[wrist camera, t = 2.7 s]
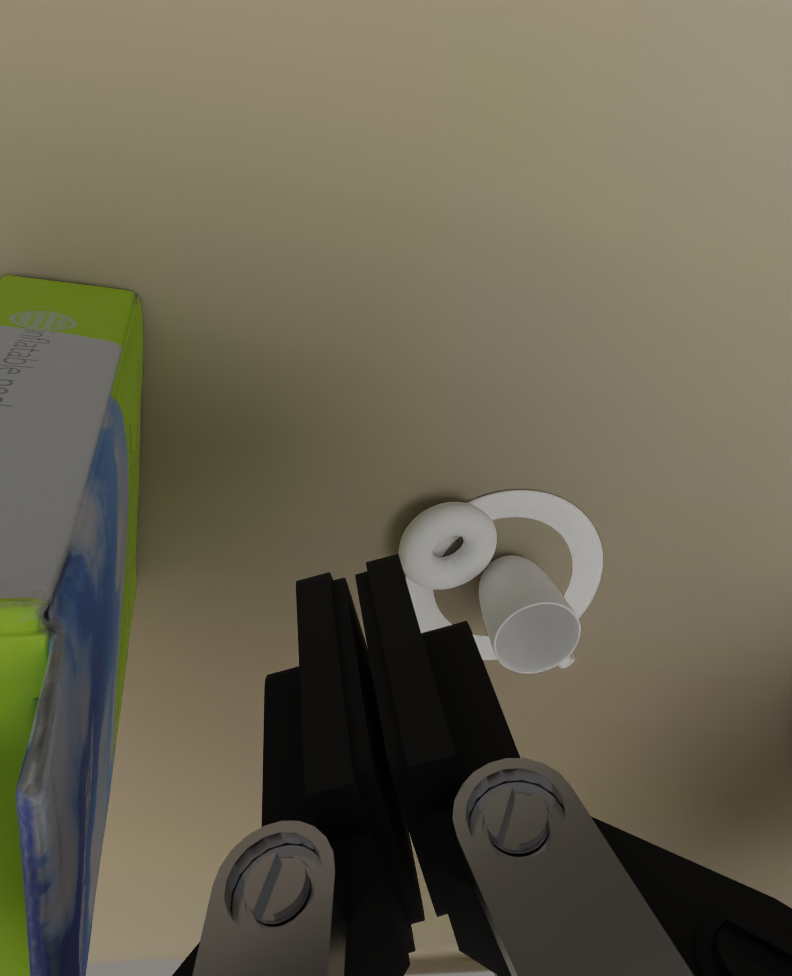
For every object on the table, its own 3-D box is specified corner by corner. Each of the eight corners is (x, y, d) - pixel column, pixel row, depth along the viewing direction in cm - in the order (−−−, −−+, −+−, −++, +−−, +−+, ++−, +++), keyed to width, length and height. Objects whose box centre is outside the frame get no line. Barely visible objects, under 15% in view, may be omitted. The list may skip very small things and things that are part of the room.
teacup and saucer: (364, 515, 25) (378, 579, 22) (568, 434, 25) (616, 485, 21) (439, 677, 30) (461, 753, 26) (614, 609, 29) (661, 676, 26)
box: (-4, 268, 19) (-660, 818, 4) (155, 289, 20) (66, 767, 6) (16, 584, 24) (-271, 1376, 9) (145, 585, 25) (80, 1278, 10)
